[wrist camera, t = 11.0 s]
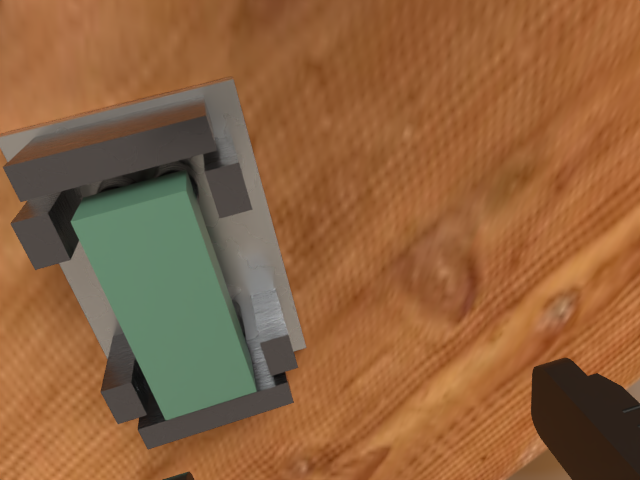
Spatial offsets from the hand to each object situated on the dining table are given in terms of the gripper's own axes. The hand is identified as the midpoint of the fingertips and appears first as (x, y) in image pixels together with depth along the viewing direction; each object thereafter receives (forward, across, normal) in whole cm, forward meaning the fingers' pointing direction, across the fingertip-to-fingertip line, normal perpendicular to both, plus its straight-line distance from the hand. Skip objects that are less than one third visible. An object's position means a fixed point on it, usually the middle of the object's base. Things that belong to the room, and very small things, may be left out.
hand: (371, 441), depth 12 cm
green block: (+17, +6, +4) cm, 18 cm away
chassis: (+21, +6, +4) cm, 22 cm away
